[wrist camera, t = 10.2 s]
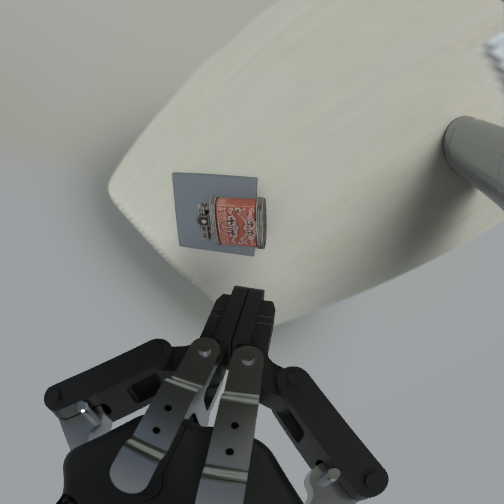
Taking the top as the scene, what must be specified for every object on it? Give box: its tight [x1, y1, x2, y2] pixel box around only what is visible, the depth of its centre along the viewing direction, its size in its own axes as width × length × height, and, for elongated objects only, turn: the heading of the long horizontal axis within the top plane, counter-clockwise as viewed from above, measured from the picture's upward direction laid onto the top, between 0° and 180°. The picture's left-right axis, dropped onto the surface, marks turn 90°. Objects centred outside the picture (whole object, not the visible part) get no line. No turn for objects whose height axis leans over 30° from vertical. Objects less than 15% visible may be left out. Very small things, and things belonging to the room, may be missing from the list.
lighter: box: [196, 196, 266, 249], centre depth 40 cm, size 8×3×10 cm
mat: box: [172, 173, 257, 256], centre depth 43 cm, size 13×13×1 cm
